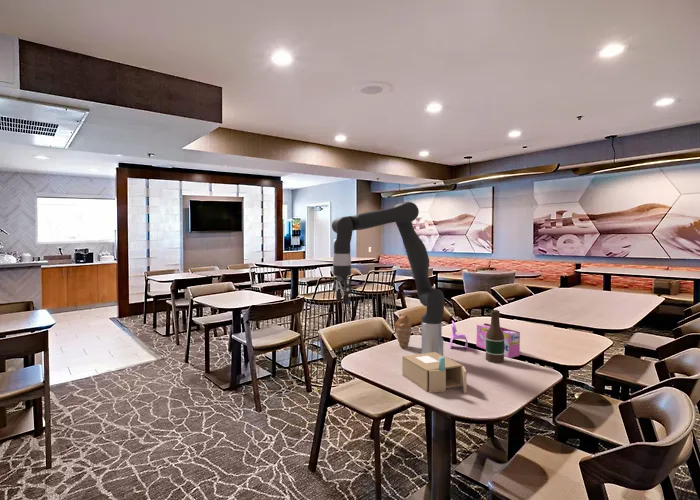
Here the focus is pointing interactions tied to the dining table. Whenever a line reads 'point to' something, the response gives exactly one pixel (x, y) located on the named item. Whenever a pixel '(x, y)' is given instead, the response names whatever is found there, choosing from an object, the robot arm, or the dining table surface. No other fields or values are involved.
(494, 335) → the beer bottle
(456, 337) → the chair
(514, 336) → the gum box
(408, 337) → the brown ridged tapered piece
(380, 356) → the dining table surface
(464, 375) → the flap
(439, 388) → the flap
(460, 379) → the carton
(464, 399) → the dining table surface
